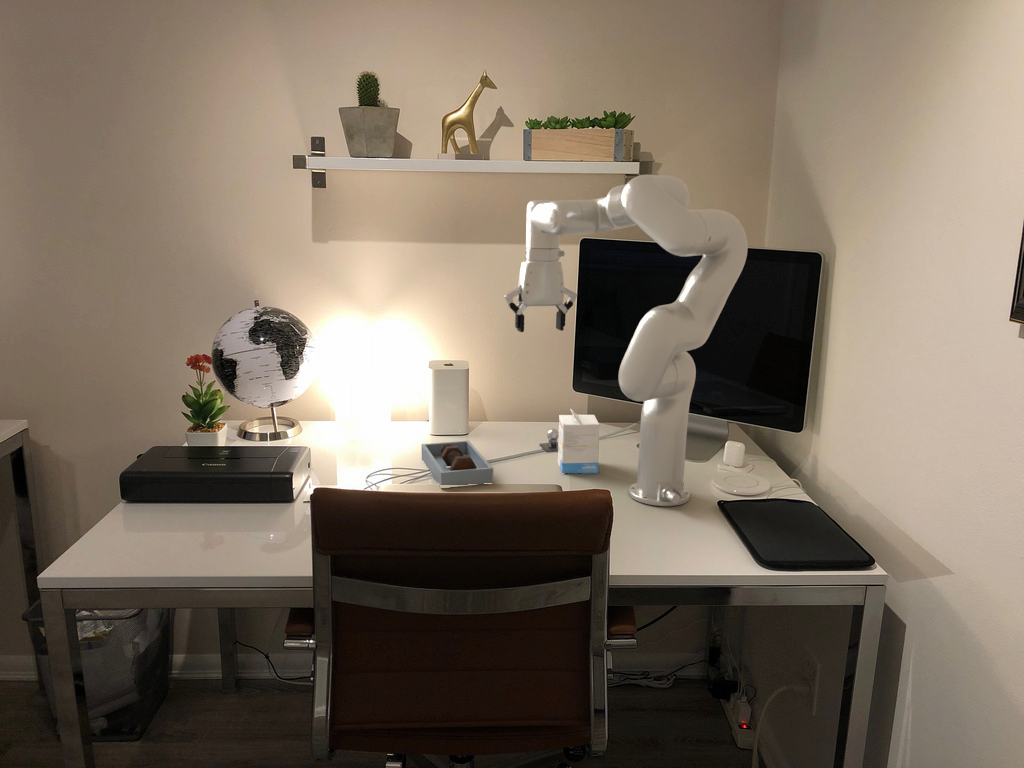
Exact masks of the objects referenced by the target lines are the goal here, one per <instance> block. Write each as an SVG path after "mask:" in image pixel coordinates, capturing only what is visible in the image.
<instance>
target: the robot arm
mask: <svg viewBox="0 0 1024 768" xmlns="http://www.w3.org/2000/svg"><path fill="white" fill-rule="evenodd" d="M689 202H690V191H689V188H688V186H687V185H686V183H685V182H684V181H683V180H682V179H680V178H678V177H676V176H673V175H669V174H668V175H666V174H664V175H663V174H641V175H637V176H635V177H633V178H632V179H630V180H629V181H628V182H627V183H625V184H621V185H617V186H614V187H612V188H611V189H610V190H609V191H608V193H607V194H606V196H604V197H599V198H598V197H597V198H593V199H560V200H559V199H558V200H550V199H534V200H530V201H528V203H527V205H526V217H525V218H526V222H525V225H526V226H525V229H526V231H525V260H524V261H521V264H520V267H519V273H518V283H517V287H516V288H515V289H513V290H511V291H510V292H507V293H506V294H504V296H503V298H504V299H505V301H506V304H507V306H508V308H509V309H511V310H512V311H513V313H514V314H515V317H514V318H515V319H514V321H515V322H514V327H515V328H516V330H517V331H518V332H520V333H524V331H525V314H524V311H526V309H528V307H553V306H554V307H556V309H557V310H558V311H556V314H555V317H556V319H555V328H556V330H558V331H564V327H565V326H566V314H567V313H568V311H569V310H570V309H571V307H573V306H574V303H575V301H576V299H577V297H578V293H576V292H574V291H572V290H570V289H568V288H566V287H565V284H564V283H565V282H564V272H563V271H564V270H563V265H562V261H560V258H561V257H564V256H565V250H561V249H560V236H575V235H581V236H582V235H592V234H593V235H595V234H599V233H605V232H610V231H615V230H621V229H625V228H629V227H635V226H638V228H640V229H641V230H642V231H643V232H644V233H645V234H646V235H647V236H649V238H651V239H652V240H653V241H655V242H656V244H658V245H659V246H660V247H661V248H662V249H663V250H665V251H666V252H668V253H669V254H671V255H674V256H676V257H677V256H678V257H694V256H696V257H697V256H702V258H701V259H700V261H699V262H698V263H697V265H696V266H695V267H694V268H693V269H692V271H691V272H690V273H689V275H688V276H687V278H686V280H685V283H684V285H683V287H682V289H681V291H680V293H679V295H678V297H677V298H676V300H675V301H674V302H672V303H668V304H662V305H657V306H655V307H653V308H651V309H650V310H648V311H647V312H646V313H645V314H644V316H643V317H642V318H641V319H640V321H639V323H638V325H637V326H636V329H635V331H634V333H633V336H632V337H631V340H630V342H629V344H628V347H627V349H626V351H625V353H624V356H623V358H622V360H621V363H620V365H619V370H618V375H617V376H618V378H617V379H618V384H619V388H620V390H621V392H622V393H623V394H624V395H625V397H627V398H628V399H630V400H632V401H635V402H643V403H642V406H641V407H642V408H641V413H640V414H641V415H640V423H639V424H640V427H639V428H640V429H639V440H638V441H639V443H638V460H637V461H638V462H637V478H636V480H637V481H636V482H634V483H633V484H631V485H630V486H629V488H628V490H629V491H628V494H629V496H630V497H631V498H632V499H633V500H635V501H637V502H639V503H642V504H646V505H650V506H654V507H655V506H656V507H674V506H680V505H684V504H686V503H687V502H688V501H690V499H691V492H690V490H689V489H688V488H687V487H685V486H684V485H685V482H684V480H685V479H684V478H685V477H684V475H685V461H686V450H687V448H686V447H687V438H688V437H687V436H688V435H687V433H688V423H689V413H690V403H691V398H692V395H693V390H694V387H695V384H696V383H695V382H696V374H697V371H696V369H697V368H696V364H695V362H694V359H693V357H692V356H691V354H690V353H689V352H690V351H692V350H696V349H698V348H701V347H703V345H704V344H705V343H706V342H707V340H708V339H709V338H710V335H711V333H712V331H713V329H714V327H715V325H716V322H717V321H718V319H719V317H720V316H721V315H720V314H721V313H722V311H723V308H724V307H725V305H726V302H727V300H728V298H729V296H730V294H731V292H732V290H733V289H734V287H735V284H736V283H737V281H738V279H739V277H740V275H741V273H742V271H743V269H744V266H745V264H746V260H747V256H748V238H747V234H746V231H745V228H744V227H743V225H742V224H741V222H740V220H739V219H738V218H737V217H736V216H735V215H733V214H732V213H730V212H728V211H726V210H723V209H717V208H701V209H700V208H699V209H698V208H697V209H696V208H695V209H694V208H693V209H687V208H688V206H689ZM565 295H567V296H568V297H567V300H566V301H565V302H564V298H565ZM516 297H517V302H518V303H517V305H516V303H515V302H514V300H513V299H514V298H516ZM688 351H689V352H688Z"/></svg>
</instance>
